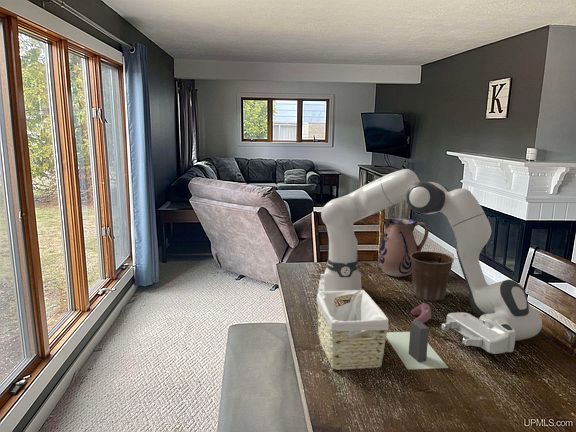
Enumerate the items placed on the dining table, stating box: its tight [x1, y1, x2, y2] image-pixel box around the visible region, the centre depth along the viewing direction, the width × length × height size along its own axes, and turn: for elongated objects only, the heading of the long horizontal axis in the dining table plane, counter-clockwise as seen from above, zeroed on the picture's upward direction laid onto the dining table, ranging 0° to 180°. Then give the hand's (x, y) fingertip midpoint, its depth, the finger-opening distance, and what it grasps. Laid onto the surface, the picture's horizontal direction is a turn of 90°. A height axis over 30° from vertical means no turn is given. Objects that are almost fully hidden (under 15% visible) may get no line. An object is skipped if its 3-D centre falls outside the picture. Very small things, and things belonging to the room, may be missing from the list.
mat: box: [386, 331, 449, 370], centre depth 129 cm, size 22×12×1 cm, turn 5°
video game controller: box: [410, 302, 432, 324], centre depth 149 cm, size 10×5×7 cm, turn 169°
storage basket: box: [316, 289, 390, 371], centre depth 127 cm, size 24×16×15 cm
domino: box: [409, 320, 430, 362], centre depth 123 cm, size 5×3×10 cm, turn 17°
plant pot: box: [410, 250, 455, 302], centre depth 170 cm, size 16×16×16 cm
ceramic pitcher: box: [377, 217, 429, 278], centre depth 196 cm, size 18×21×25 cm
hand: (453, 334), depth 126 cm, fingers open, 8 cm apart
